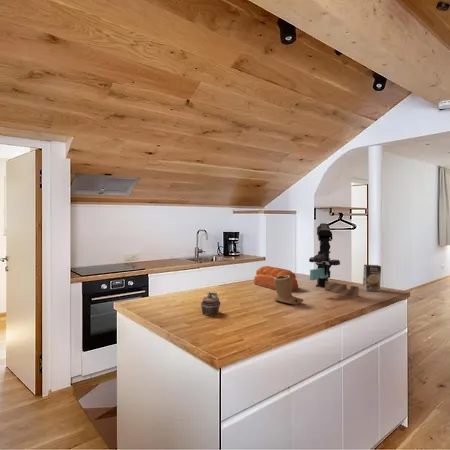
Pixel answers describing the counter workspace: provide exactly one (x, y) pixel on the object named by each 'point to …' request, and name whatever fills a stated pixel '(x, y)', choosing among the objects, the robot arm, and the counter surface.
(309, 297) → the counter surface
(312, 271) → the crossbar
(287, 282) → the brown hollow boot-shaped piece
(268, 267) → the bread
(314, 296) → the counter surface
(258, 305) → the counter surface
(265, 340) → the counter surface
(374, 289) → the coffee box
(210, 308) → the cupcake
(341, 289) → the rail
